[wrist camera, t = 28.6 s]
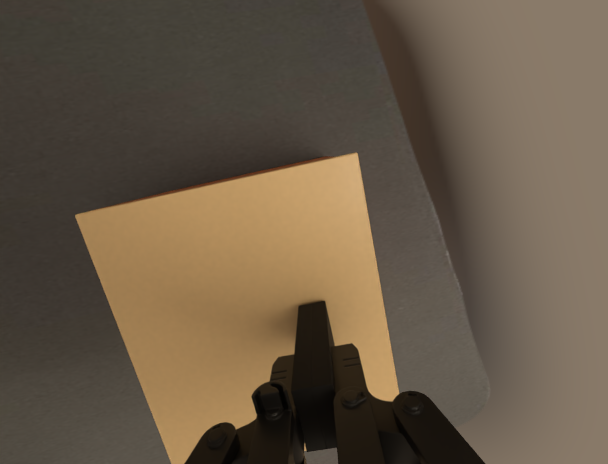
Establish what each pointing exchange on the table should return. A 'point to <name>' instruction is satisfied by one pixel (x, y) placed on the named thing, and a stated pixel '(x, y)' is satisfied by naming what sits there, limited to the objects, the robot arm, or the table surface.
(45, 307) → the table surface
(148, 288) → the lid
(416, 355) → the table surface
